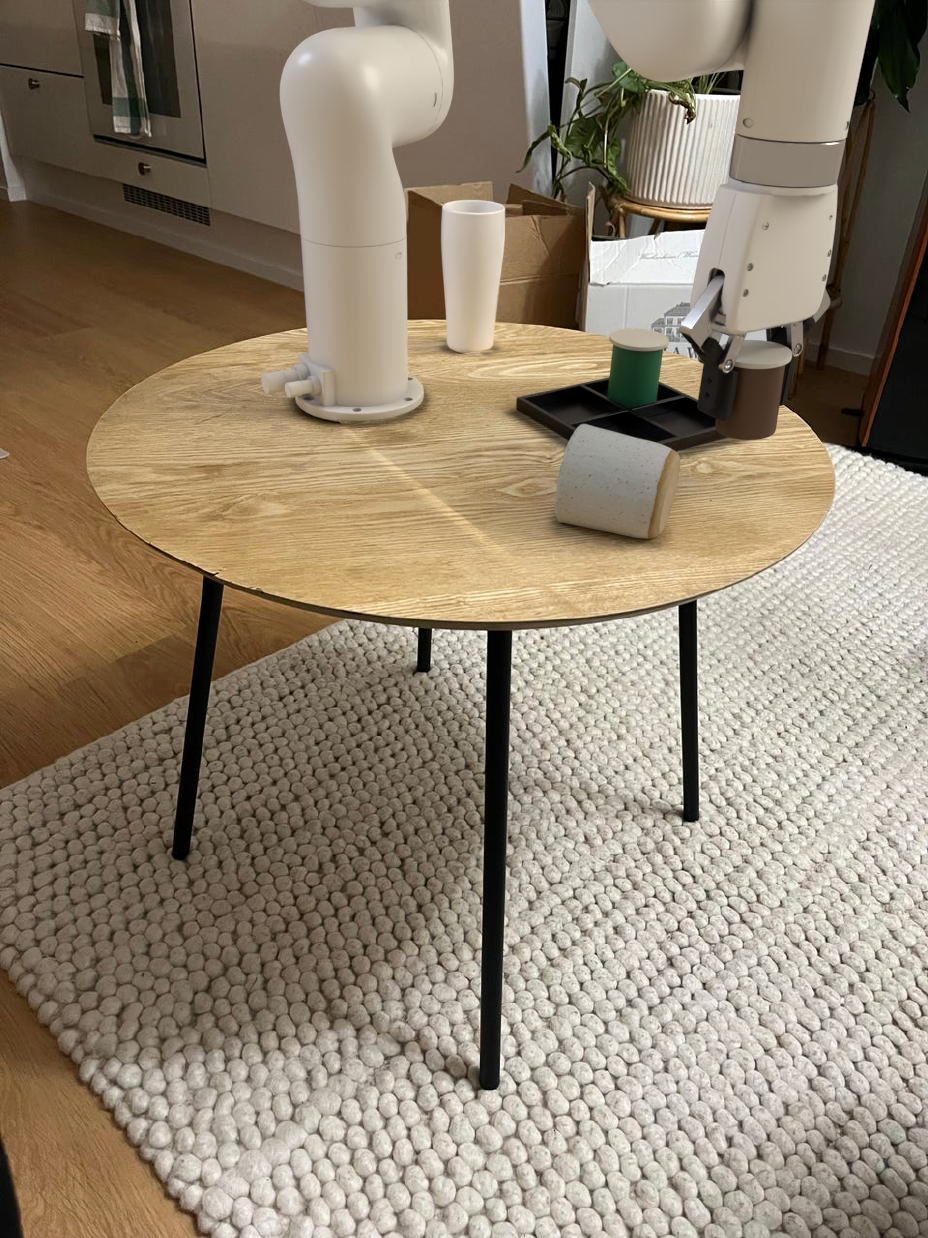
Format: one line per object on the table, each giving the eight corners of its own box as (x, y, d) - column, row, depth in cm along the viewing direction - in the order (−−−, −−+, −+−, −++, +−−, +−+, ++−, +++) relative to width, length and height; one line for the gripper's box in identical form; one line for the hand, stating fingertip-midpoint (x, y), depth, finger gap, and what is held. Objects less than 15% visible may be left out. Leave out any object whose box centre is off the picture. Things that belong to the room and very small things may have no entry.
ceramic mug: (655, 559, 74) (670, 463, 69) (549, 538, 76) (557, 443, 72) (682, 501, 82) (696, 412, 78) (585, 483, 84) (594, 396, 80)
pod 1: (627, 416, 95) (635, 350, 92) (591, 397, 99) (597, 333, 96) (671, 405, 98) (681, 341, 94) (634, 387, 102) (642, 324, 98)
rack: (615, 473, 86) (617, 455, 85) (515, 413, 96) (516, 397, 95) (741, 438, 93) (744, 421, 92) (635, 386, 103) (637, 370, 102)
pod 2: (745, 448, 78) (755, 369, 74) (695, 425, 82) (702, 349, 78) (795, 430, 80) (807, 353, 77) (744, 409, 84) (753, 334, 81)
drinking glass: (502, 339, 115) (508, 200, 106) (497, 359, 109) (504, 214, 101) (443, 336, 115) (445, 198, 107) (436, 355, 110) (437, 211, 101)
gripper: (825, 147, 77) (780, 375, 87) (657, 165, 69) (629, 412, 79) (907, 162, 72) (849, 403, 82) (735, 183, 64) (694, 446, 74)
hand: (741, 405), depth 80 cm, fingers closed on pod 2, 5 cm apart
